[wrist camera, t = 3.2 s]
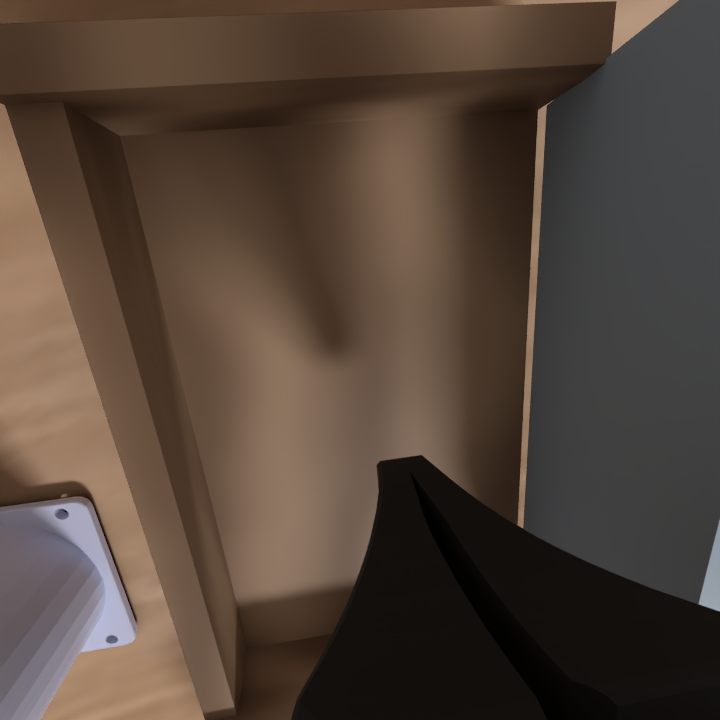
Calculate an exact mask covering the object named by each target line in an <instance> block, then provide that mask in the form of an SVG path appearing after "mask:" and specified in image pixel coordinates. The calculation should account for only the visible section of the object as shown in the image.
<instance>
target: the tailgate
mask: <svg viewBox="0 0 720 720" xmlns="http://www.w3.org/2000/svg"><path fill="white" fill-rule="evenodd" d="M523 529H524V530H526V531H528V532H529V533H531V534H533V535H535V536H536V537H538V538H540V539H542V540H544V541H546V542H548V543H550V544H552V545H554V546H555V547H558V548H560V549H562V550H564V551H566V552H568V553H570V554H572V555H574V556H576V557H578V558H580V559H583V560H585V561H587V562H589V563H591V564H594V565H596V566H598V567H601V568H603V569H605V570H607V571H610V572H612V573H615V574H617V575H620V576H622V577H625V578H627V579H630V580H632V581H635V582H637V583H640V584H642V585H645V586H647V587H650V588H653V589H655V590H658V591H661V592H664V593H667V594H670V595H673V596H676V597H679V598H682V599H684V600H687V601H690V602H693V603H696V604H699V605H702V606H705V607H708V608H711V609H714V610H717V611H720V0H679V1H678V2H677V3H675V4H674V5H673V6H671V7H670V8H669V9H668V10H666V11H665V12H664V13H663V14H661V15H660V16H659V17H658V18H656V19H655V20H654V21H653V22H651V23H650V24H649V25H648V26H646V27H645V28H644V29H643V30H641V31H640V32H639V33H638V34H636V35H635V36H634V37H633V38H631V39H630V40H629V41H628V42H626V43H625V44H624V45H622V46H621V47H620V48H619V49H617V50H616V51H615V52H614V53H612V54H611V55H610V56H609V57H607V58H606V64H604V65H603V66H602V67H600V68H599V69H598V70H597V71H595V72H594V73H593V74H591V75H590V76H589V77H588V78H586V79H585V80H584V81H582V82H580V83H579V84H577V85H576V86H574V87H573V88H571V89H569V90H568V91H566V92H565V93H563V94H562V95H560V96H559V97H557V98H556V99H555V100H553V101H552V102H551V103H550V104H548V105H547V113H546V131H545V149H544V167H543V185H542V203H541V221H540V239H539V257H538V275H537V293H536V311H535V329H534V347H533V365H532V383H531V401H530V419H529V437H528V455H527V473H526V491H525V510H524V528H523Z"/></svg>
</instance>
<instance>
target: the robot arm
mask: <svg viewBox="0 0 720 720" xmlns="http://www.w3.org/2000/svg"><path fill="white" fill-rule="evenodd" d="M377 477H378V488H379V492H378V500H377V508H376V514H375V518H374V523H373V528H372V532H371V536H370V540H369V544H368V547H367V551H366V554H365V557H364V560H363V563H362V566H361V569H360V572H359V574H358V577H357V580H356V582H355V585H354V588H353V590H352V593H351V595H350V598H349V600H348V602H347V605H346V607H345V609H344V611H343V613H342V615H341V617H340V619H339V621H338V623H337V626H336V628H335V630H334V632H333V634H332V636H331V638H330V640H329V642H328V644H327V646H326V648H325V650H324V652H323V653H322V655H321V657H320V659H319V661H318V662H317V664H316V666H315V668H314V669H313V671H312V673H311V675H310V676H309V678H308V680H307V682H306V683H305V685H304V687H303V689H302V690H301V692H300V694H299V696H298V698H297V700H296V704H295V707H294V710H293V714H292V717H291V720H720V611H717V610H714V609H711V608H708V607H705V606H702V605H699V604H696V603H693V602H690V601H687V600H684V599H682V598H679V597H676V596H673V595H670V594H667V593H664V592H661V591H658V590H655V589H653V588H650V587H647V586H645V585H642V584H640V583H637V582H635V581H632V580H630V579H627V578H625V577H622V576H620V575H617V574H615V573H612V572H610V571H607V570H605V569H603V568H601V567H598V566H596V565H594V564H591V563H589V562H587V561H585V560H583V559H580V558H578V557H576V556H574V555H572V554H570V553H568V552H566V551H564V550H562V549H560V548H558V547H555V546H554V545H552V544H550V543H548V542H546V541H544V540H542V539H540V538H538V537H536V536H535V535H533V534H531V533H529V532H528V531H526V530H524V529H522V528H521V527H519V526H517V525H515V524H514V523H512V522H510V521H509V520H507V519H506V518H504V517H502V516H501V515H499V514H498V513H496V512H495V511H493V510H492V509H490V508H489V507H487V506H486V505H484V504H483V503H482V502H480V501H479V500H477V499H476V498H475V497H473V496H472V495H471V494H469V493H468V492H467V491H465V490H464V489H463V488H461V487H460V486H459V485H457V484H456V483H455V482H454V481H452V480H451V479H450V478H449V477H448V476H446V475H445V474H444V473H443V472H442V471H440V470H439V469H438V468H437V467H436V466H434V465H433V464H432V463H431V462H430V461H428V460H427V459H426V458H425V457H424V456H422V455H418V456H411V457H404V458H397V459H390V460H383V461H380V462H379V463H378V464H377ZM62 509H64V510H66V511H67V512H68V513H66V512H64V511H63V510H62ZM137 633H138V627H137V624H136V622H135V619H134V616H133V613H132V611H131V608H130V605H129V602H128V600H127V597H126V594H125V592H124V589H123V586H122V583H121V581H120V578H119V575H118V572H117V570H116V567H115V564H114V562H113V559H112V556H111V553H110V551H109V548H108V545H107V542H106V540H105V537H104V534H103V532H102V529H101V526H100V523H99V521H98V518H97V515H96V512H95V510H94V507H93V504H92V503H91V501H90V500H88V499H87V498H84V497H78V496H76V497H69V498H62V499H55V500H48V501H41V502H34V503H27V504H19V505H12V506H5V507H0V720H40V719H41V718H42V716H43V714H44V713H45V711H46V709H47V707H48V706H49V704H50V702H51V701H52V699H53V697H54V696H55V694H56V692H57V691H58V689H59V687H60V685H61V684H62V682H63V680H64V679H65V677H66V675H67V674H68V672H69V670H70V669H71V667H72V665H73V663H74V662H75V660H76V658H77V657H78V655H79V653H81V652H86V651H92V650H98V649H103V648H109V647H115V646H120V645H126V644H129V643H131V642H132V641H134V639H135V637H136V635H137Z"/></svg>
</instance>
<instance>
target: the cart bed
mask: <svg viewBox="0 0 720 720" xmlns="http://www.w3.org/2000/svg"><path fill="white" fill-rule="evenodd" d="M615 10H616V1H614V2H586V3H559V4H532V5H504V6H477V7H450V8H422V9H395V10H367V11H340V12H313V13H285V14H258V15H230V16H203V17H176V18H148V19H121V20H93V21H66V22H39V23H11V24H0V103H2V104H4V105H5V106H6V109H7V112H8V116H9V119H10V122H11V125H12V128H13V131H14V134H15V137H16V140H17V143H18V146H19V149H20V152H21V156H22V159H23V162H24V165H25V168H26V171H27V174H28V177H29V180H30V183H31V186H32V189H33V192H34V195H35V199H36V202H37V205H38V208H39V211H40V214H41V217H42V220H43V223H44V226H45V229H46V232H47V235H48V239H49V242H50V245H51V248H52V251H53V254H54V257H55V260H56V263H57V266H58V269H59V272H60V275H61V279H62V282H63V285H64V288H65V291H66V294H67V297H68V300H69V303H70V306H71V309H72V312H73V315H74V318H75V322H76V325H77V328H78V331H79V334H80V337H81V340H82V343H83V346H84V349H85V352H86V355H87V358H88V362H89V365H90V368H91V371H92V374H93V377H94V380H95V383H96V386H97V389H98V392H99V395H100V398H101V402H102V405H103V408H104V411H105V414H106V417H107V420H108V423H109V426H110V429H111V432H112V435H113V438H114V441H115V445H116V448H117V451H118V454H119V457H120V460H121V463H122V466H123V469H124V472H125V475H126V478H127V481H128V485H129V488H130V491H131V494H132V497H133V500H134V503H135V506H136V509H137V512H138V515H139V518H140V521H141V525H142V528H143V531H144V534H145V537H146V540H147V543H148V546H149V549H150V552H151V555H152V558H153V561H154V564H155V568H156V571H157V574H158V577H159V580H160V583H161V586H162V589H163V592H164V595H165V598H166V601H167V604H168V608H169V611H170V614H171V617H172V620H173V623H174V626H175V629H176V632H177V635H178V638H179V641H180V644H181V647H182V651H183V654H184V657H185V660H186V663H187V666H188V669H189V672H190V675H191V678H192V681H193V684H194V687H195V691H196V694H197V697H198V700H199V703H200V706H201V709H202V712H203V715H204V718H205V720H291V717H292V714H293V710H294V707H295V704H296V700H297V698H298V696H299V694H300V692H301V690H302V689H303V687H304V685H305V683H306V682H307V680H308V678H309V676H310V675H311V673H312V671H313V669H314V668H315V666H316V664H317V662H318V661H319V659H320V657H321V655H322V653H323V652H324V650H325V648H326V646H327V644H328V642H329V640H330V638H331V636H332V634H333V632H334V630H335V628H336V626H337V623H338V621H339V619H340V617H341V615H342V613H343V611H344V609H345V607H346V605H347V602H348V600H349V598H350V595H351V593H352V590H353V588H354V585H355V582H356V580H357V577H358V574H359V572H360V569H361V566H362V563H363V560H364V557H365V554H366V551H367V547H368V544H369V540H370V536H371V532H372V528H373V523H374V518H375V514H376V508H377V500H378V492H379V488H378V477H377V464H378V463H379V462H380V461H383V460H390V459H397V458H404V457H411V456H418V455H422V456H424V457H425V458H426V459H427V460H428V461H430V462H431V463H432V464H433V465H434V466H436V467H437V468H438V469H439V470H440V471H442V472H443V473H444V474H445V475H446V476H448V477H449V478H450V479H451V480H452V481H454V482H455V483H456V484H457V485H459V486H460V487H461V488H463V489H464V490H465V491H467V492H468V493H469V494H471V495H472V496H473V497H475V498H476V499H477V500H479V501H480V502H482V503H483V504H484V505H486V506H487V507H489V508H490V509H492V510H493V511H495V512H496V513H498V514H499V515H501V516H502V517H504V518H506V519H507V520H509V521H510V522H512V523H514V524H515V525H517V523H518V503H519V482H520V462H521V442H522V421H523V401H524V381H525V360H526V340H527V320H528V300H529V279H530V259H531V239H532V218H533V198H534V178H535V157H536V137H537V117H538V109H540V108H541V107H543V106H545V105H546V104H548V103H549V102H551V101H552V100H554V99H555V98H557V97H559V96H560V95H562V94H563V93H565V92H566V91H568V90H569V89H571V88H573V87H574V86H576V85H577V84H579V83H580V82H582V81H584V80H585V79H586V78H588V77H589V76H590V75H591V74H593V73H594V72H595V71H597V70H598V69H599V68H600V67H602V66H603V65H604V64H606V58H607V57H609V56H610V55H611V51H612V41H613V31H614V20H615Z"/></svg>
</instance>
